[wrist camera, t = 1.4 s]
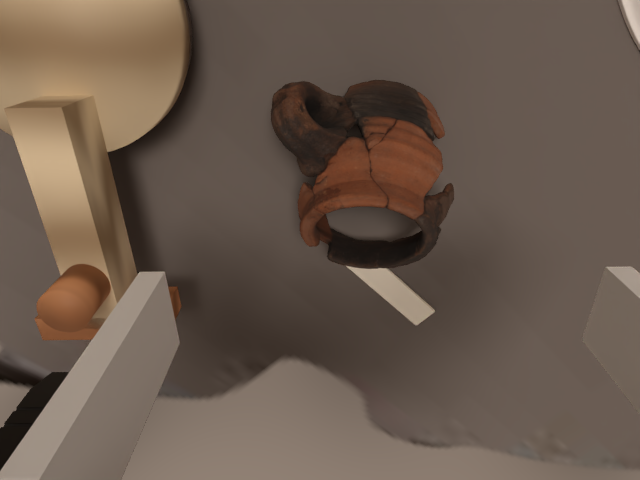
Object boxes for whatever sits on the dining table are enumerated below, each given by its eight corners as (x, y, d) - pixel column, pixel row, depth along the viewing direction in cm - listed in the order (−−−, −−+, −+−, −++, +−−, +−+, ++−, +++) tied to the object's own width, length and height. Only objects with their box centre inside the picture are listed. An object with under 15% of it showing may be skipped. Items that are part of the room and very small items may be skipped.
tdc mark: (340, 258, 31) (340, 261, 30) (358, 242, 30) (359, 244, 30) (415, 323, 33) (416, 325, 33) (434, 309, 33) (435, 311, 32)
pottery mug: (480, 129, 27) (494, 243, 23) (368, 193, 34) (362, 292, 29) (335, -9, 21) (315, 111, 17) (232, 102, 27) (198, 210, 23)
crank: (-114, -127, 19) (-326, -192, 13) (166, -134, 19) (90, -202, 13) (43, 294, 29) (-32, 372, 23) (226, 292, 29) (200, 370, 23)
